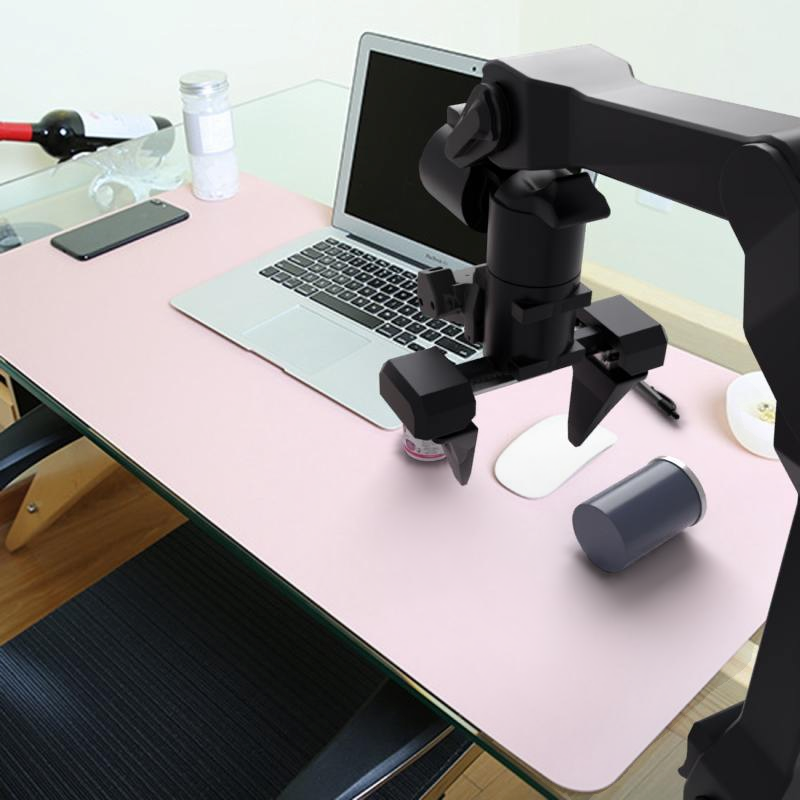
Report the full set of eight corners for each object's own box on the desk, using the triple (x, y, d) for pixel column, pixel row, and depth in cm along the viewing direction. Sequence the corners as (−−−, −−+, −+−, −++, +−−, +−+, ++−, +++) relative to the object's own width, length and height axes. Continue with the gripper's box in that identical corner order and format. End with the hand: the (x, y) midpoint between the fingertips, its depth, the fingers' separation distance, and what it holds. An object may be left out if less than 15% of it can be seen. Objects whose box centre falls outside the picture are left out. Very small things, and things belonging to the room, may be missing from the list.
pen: (686, 419, 92) (688, 410, 91) (672, 424, 91) (674, 414, 91) (605, 347, 102) (606, 338, 102) (592, 350, 102) (593, 341, 101)
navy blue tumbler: (623, 589, 75) (701, 538, 79) (631, 532, 71) (713, 482, 75) (568, 542, 79) (644, 496, 83) (573, 487, 76) (653, 441, 79)
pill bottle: (396, 436, 91) (394, 363, 86) (443, 426, 92) (444, 354, 87) (412, 467, 87) (411, 393, 82) (461, 457, 88) (463, 383, 83)
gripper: (586, 185, 67) (566, 369, 76) (339, 242, 60) (351, 435, 70) (690, 252, 58) (654, 449, 68) (417, 326, 52) (419, 532, 61)
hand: (518, 462), depth 67 cm, fingers open, 9 cm apart
